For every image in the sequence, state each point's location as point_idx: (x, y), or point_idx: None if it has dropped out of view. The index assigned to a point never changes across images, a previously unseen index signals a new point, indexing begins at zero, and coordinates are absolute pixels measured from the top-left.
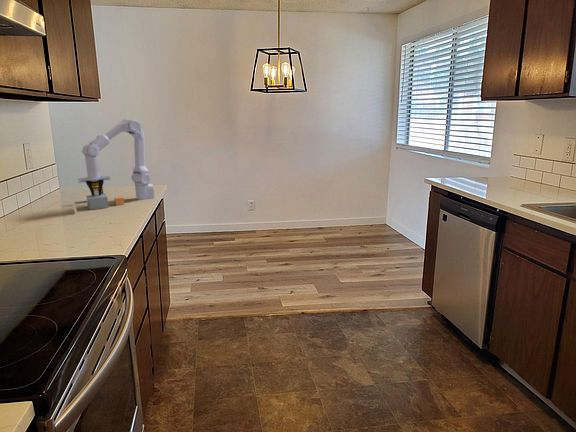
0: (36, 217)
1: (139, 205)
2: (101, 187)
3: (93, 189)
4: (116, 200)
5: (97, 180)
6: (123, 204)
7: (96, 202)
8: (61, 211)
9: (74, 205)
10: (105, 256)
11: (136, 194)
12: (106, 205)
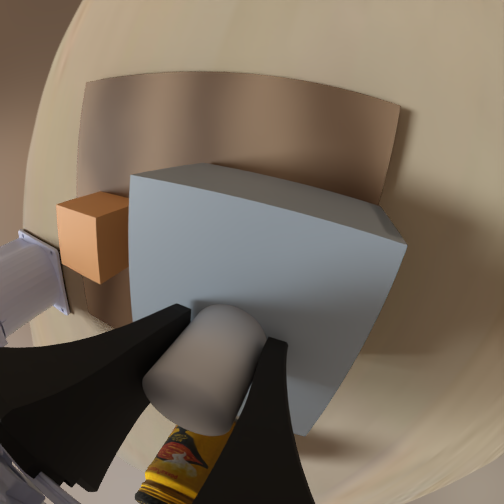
0: None
1: (58, 160)
2: (77, 343)
3: (217, 425)
4: (105, 211)
5: (50, 489)
6: (100, 192)
7: (293, 196)
8: (466, 378)
9: (337, 445)
10: None
11: (35, 290)
12: (207, 167)
